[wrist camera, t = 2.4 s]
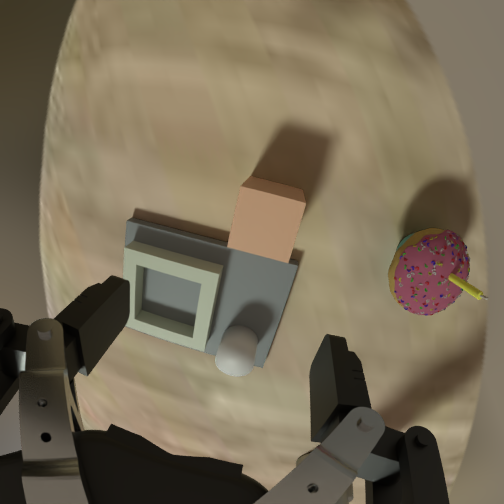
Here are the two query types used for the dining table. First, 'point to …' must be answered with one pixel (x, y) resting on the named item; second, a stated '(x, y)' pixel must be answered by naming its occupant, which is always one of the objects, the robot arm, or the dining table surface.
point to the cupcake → (430, 271)
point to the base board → (204, 294)
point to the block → (267, 219)
